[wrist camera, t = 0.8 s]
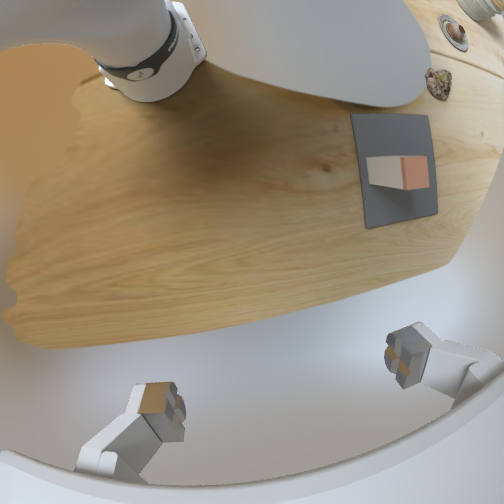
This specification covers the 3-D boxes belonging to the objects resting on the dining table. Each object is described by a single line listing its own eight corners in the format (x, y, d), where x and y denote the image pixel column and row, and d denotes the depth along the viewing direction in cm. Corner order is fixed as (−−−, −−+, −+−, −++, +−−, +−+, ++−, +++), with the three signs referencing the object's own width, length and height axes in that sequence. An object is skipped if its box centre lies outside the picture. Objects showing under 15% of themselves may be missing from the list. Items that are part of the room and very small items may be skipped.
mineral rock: (444, 107, 41) (432, 75, 37) (429, 105, 45) (417, 75, 41) (460, 89, 40) (450, 60, 36) (447, 88, 44) (436, 60, 40)
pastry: (430, 12, 35) (439, 7, 30) (454, 18, 35) (463, 14, 30) (449, 49, 38) (460, 45, 34) (471, 53, 38) (481, 50, 34)
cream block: (365, 157, 45) (403, 157, 34) (387, 155, 45) (426, 156, 34) (369, 183, 46) (407, 190, 35) (390, 181, 47) (429, 187, 35)
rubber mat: (349, 114, 43) (351, 113, 42) (426, 115, 44) (427, 115, 43) (365, 227, 50) (366, 228, 49) (436, 213, 50) (437, 213, 50)
